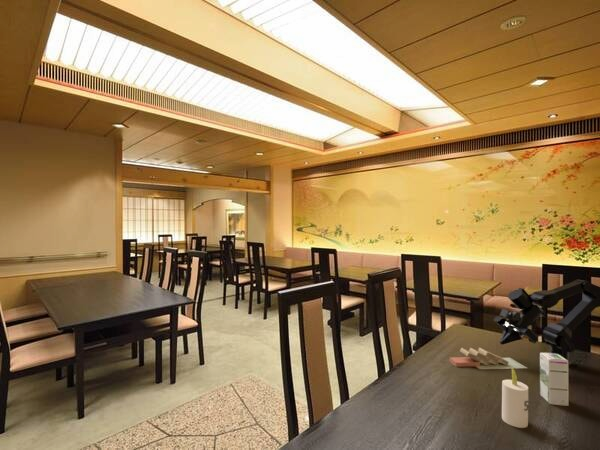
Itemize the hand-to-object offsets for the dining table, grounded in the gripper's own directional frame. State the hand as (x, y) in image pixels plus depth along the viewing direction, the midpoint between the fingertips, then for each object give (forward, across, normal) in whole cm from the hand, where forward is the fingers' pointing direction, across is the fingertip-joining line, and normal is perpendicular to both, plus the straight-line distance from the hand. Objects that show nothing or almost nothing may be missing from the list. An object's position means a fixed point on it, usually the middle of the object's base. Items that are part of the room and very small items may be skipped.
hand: (500, 343), depth 132 cm
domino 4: (+4, 0, +6) cm, 7 cm away
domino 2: (+10, 0, 0) cm, 10 cm away
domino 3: (+7, 0, +3) cm, 8 cm away
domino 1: (+12, 0, -2) cm, 13 cm away
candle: (+22, +38, -10) cm, 45 cm away
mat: (+8, 0, +4) cm, 9 cm away
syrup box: (+7, +27, +5) cm, 29 cm away
